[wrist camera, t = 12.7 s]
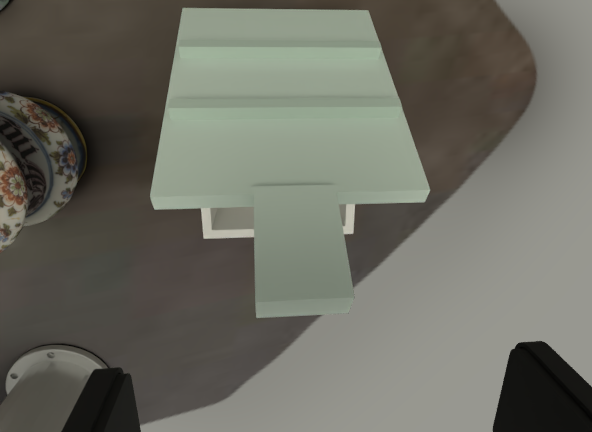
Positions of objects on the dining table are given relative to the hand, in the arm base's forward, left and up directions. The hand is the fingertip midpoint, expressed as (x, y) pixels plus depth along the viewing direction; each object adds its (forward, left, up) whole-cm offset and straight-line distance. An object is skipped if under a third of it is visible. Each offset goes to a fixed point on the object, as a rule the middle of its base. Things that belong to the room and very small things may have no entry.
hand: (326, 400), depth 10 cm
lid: (+4, 0, -17) cm, 18 cm away
